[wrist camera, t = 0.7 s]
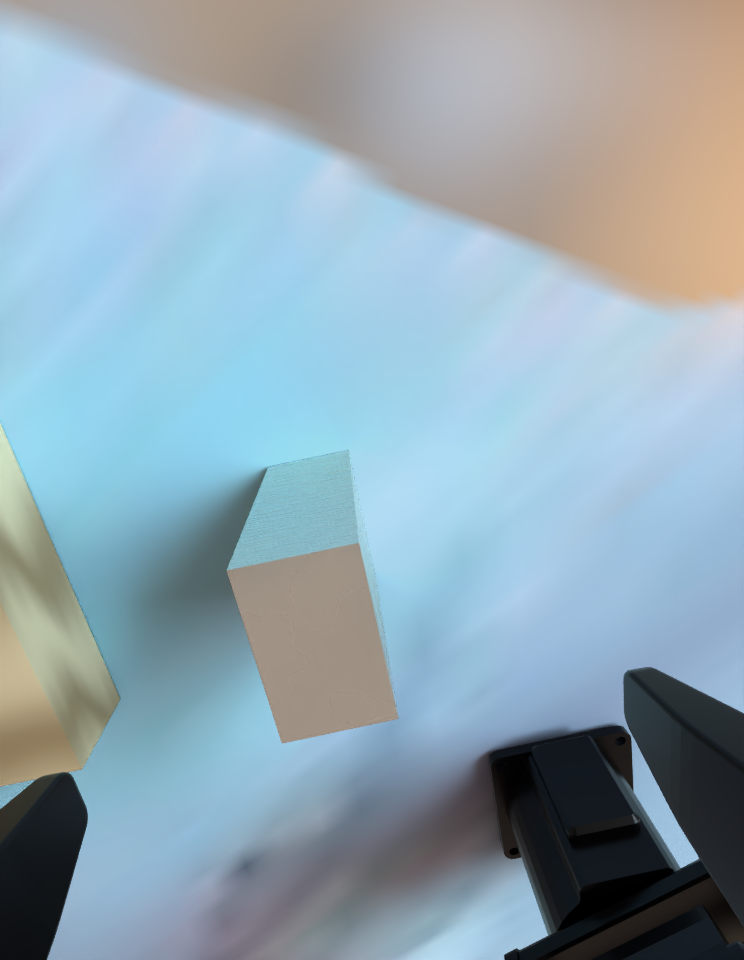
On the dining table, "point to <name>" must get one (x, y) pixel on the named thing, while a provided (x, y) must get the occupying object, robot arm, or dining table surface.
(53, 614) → the well block
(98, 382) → the dining table surface
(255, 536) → the tall grey box
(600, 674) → the dining table surface
